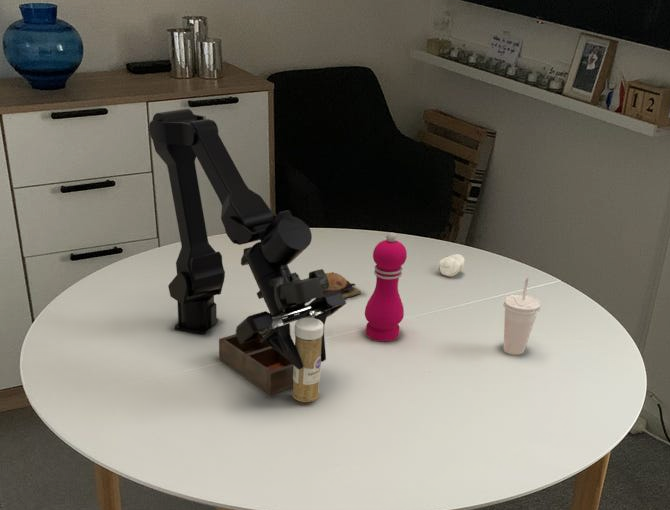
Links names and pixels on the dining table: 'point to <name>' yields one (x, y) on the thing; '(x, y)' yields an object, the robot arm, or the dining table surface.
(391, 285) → the pepper mill
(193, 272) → the robot arm
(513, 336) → the smoothie
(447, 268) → the dumpling
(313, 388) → the sprinkles bottle
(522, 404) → the dining table surface
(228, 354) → the wooden divided tray
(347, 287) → the burger on wooden board
